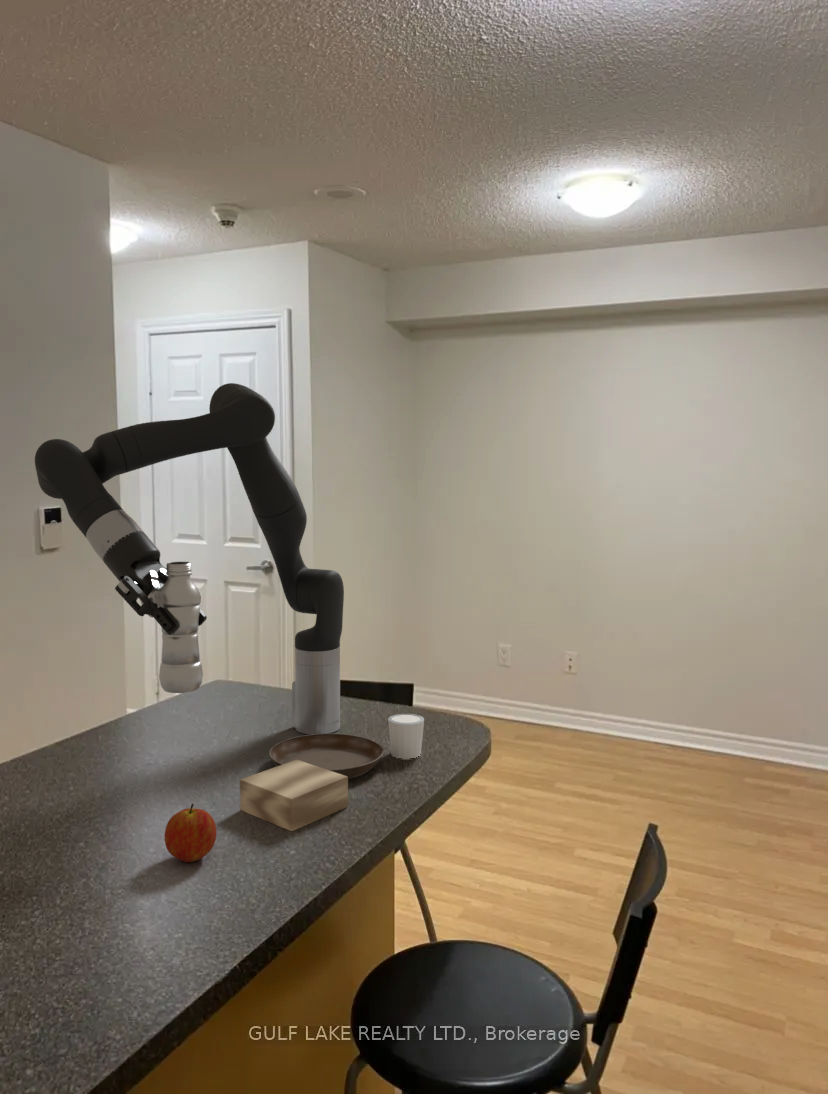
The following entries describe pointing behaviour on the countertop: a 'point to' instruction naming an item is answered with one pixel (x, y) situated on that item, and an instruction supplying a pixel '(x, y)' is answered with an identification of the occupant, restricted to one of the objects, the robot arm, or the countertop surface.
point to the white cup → (406, 735)
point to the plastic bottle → (181, 632)
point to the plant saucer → (330, 752)
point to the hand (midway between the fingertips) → (189, 626)
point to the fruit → (190, 834)
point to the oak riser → (293, 794)
